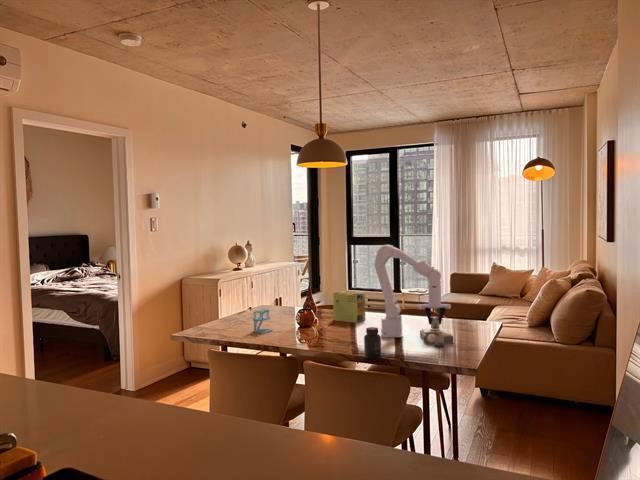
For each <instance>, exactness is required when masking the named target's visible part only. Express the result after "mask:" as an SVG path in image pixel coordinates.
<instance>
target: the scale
mask: <svg viewBox="0 0 640 480" xmlns="http://www.w3.org/2000/svg"><path fill="white" fill-rule="evenodd" d="M438 334H439V335H444V344H454V335H452V333H451V332H450V330H448V329H446V328H439V329H432V328H422V329H420V330H419V337H420V339H421V340H422V342H423V343H424V344H426V345H435V335H438Z"/></svg>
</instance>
